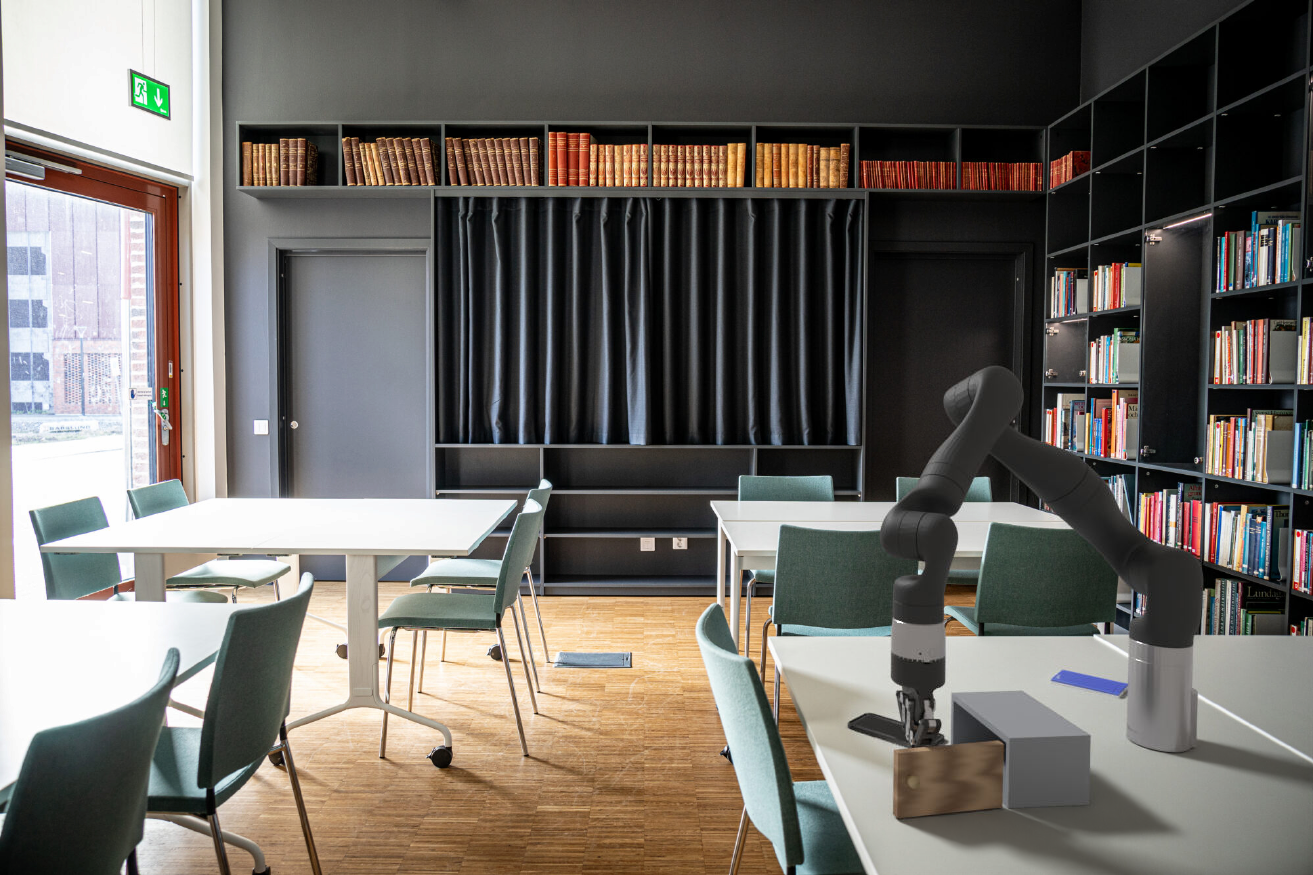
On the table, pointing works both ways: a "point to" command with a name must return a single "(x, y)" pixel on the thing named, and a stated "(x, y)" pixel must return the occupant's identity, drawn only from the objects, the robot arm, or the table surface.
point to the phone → (884, 729)
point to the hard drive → (1089, 683)
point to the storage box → (1027, 746)
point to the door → (947, 778)
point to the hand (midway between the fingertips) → (917, 767)
